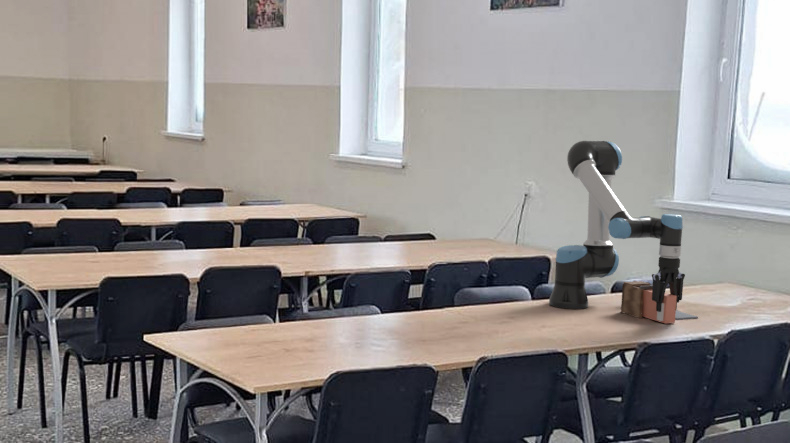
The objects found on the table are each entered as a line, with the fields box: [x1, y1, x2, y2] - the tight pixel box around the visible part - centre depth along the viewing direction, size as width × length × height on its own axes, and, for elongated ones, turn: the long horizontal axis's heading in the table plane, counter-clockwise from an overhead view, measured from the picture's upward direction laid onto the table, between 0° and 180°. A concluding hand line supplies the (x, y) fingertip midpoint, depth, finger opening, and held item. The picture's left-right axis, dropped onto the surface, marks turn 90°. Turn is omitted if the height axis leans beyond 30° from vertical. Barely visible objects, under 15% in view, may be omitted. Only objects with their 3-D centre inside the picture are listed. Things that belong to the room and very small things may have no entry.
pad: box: [675, 309, 699, 321], centre depth 374 cm, size 14×10×1 cm
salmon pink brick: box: [642, 290, 677, 324], centre depth 363 cm, size 13×4×10 cm, turn 24°
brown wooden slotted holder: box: [620, 280, 653, 319], centre depth 373 cm, size 11×8×12 cm
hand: (665, 319), depth 359 cm, fingers closed on salmon pink brick, 4 cm apart
